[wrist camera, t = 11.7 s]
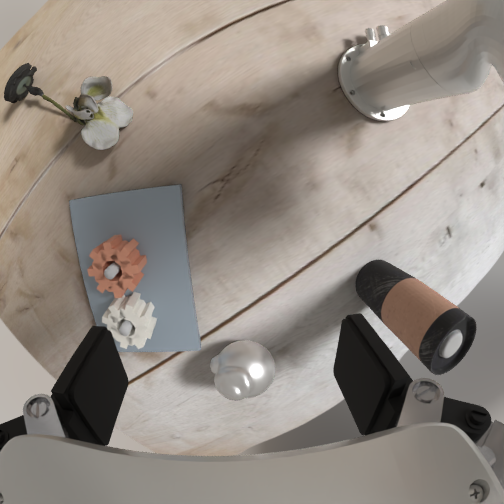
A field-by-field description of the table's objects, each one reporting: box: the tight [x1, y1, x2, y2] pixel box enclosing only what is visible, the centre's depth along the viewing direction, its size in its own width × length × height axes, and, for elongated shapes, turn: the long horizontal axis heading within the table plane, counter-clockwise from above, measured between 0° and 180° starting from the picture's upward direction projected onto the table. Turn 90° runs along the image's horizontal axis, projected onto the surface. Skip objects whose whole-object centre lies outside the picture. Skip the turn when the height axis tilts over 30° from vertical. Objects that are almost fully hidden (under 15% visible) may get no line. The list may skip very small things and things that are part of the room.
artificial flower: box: [4, 63, 133, 150], centre depth 25 cm, size 9×22×10 cm, turn 54°
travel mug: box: [356, 260, 476, 375], centre depth 32 cm, size 8×8×20 cm
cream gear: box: [102, 292, 157, 349], centre depth 35 cm, size 7×7×4 cm
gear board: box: [69, 184, 201, 352], centre depth 33 cm, size 24×16×6 cm, turn 3°
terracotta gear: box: [87, 234, 147, 298], centre depth 32 cm, size 7×7×4 cm
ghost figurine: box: [210, 340, 276, 401], centre depth 37 cm, size 9×10×10 cm
